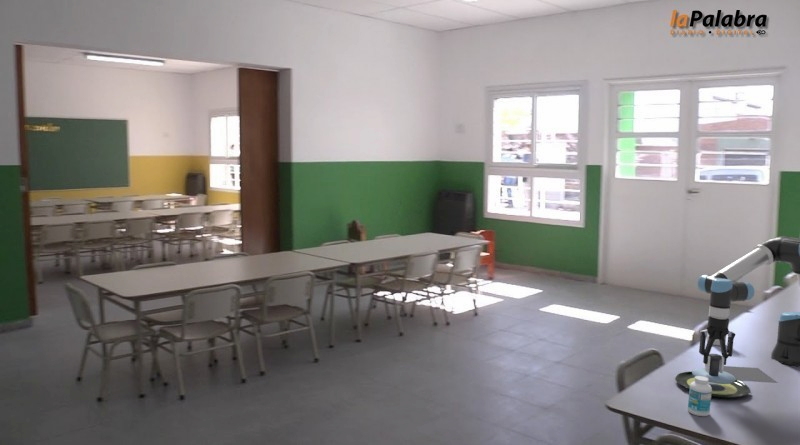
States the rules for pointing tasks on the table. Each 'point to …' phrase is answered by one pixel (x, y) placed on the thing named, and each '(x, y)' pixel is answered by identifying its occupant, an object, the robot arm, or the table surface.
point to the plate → (730, 389)
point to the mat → (748, 374)
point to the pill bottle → (700, 396)
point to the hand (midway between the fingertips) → (713, 371)
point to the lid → (714, 372)
